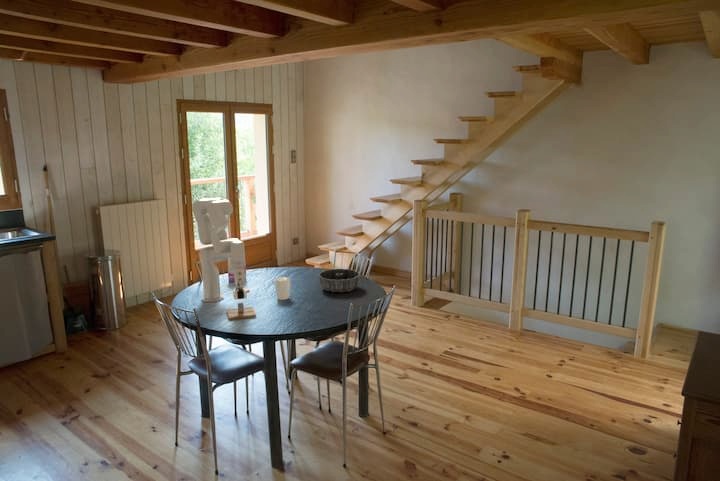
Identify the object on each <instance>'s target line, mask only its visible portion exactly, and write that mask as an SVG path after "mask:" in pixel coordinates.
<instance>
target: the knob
mask: <svg viewBox="0 0 720 481" xmlns="http://www.w3.org/2000/svg"><path fill="white" fill-rule="evenodd" d="M237 291H238V289H236V288H234V289H232V294H233V295H232V296H233V298H234V300H235V301H239V300H240V299H238V294H237ZM243 291H244V298H242V299H241V300H246V299H247V298H248V296H247V295H248V294H249V293H250V292H251V291H250V289H246V288H245V287H243Z"/></svg>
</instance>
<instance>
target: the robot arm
mask: <svg viewBox="0 0 720 481" xmlns="http://www.w3.org/2000/svg"><path fill="white" fill-rule="evenodd" d="M191 209H192V214H193V216H194V219H195V221H196V224H197V225H196V226H197V231H198V232H197V233H198V238H199V241H200V242H199V243H200V244H201V245H204V246H205V245H206V246H207V245H208V246H207V247H206V246H205V247H203V248H201V249H200V250H199V252H198V257H199V261H200V265H201V266H200V267H201V273H202V274H201V275H202V286H203V288H202V289H203V296H202V297H201V301H202V302H204V303H205V302H206V303H213V302H219V301H222V300H223V299H224V295H223V294H221V284H220V283H221V282H220V271H219V267H218V266H217V265H216V264H215V263H219V262H220V263H221V262H225V261H227V260H228V259H229V258H230V259H231V268H233V270H234V280H235V283H234V284H235V287H236V288H235V289H238V291H237V294H238V299H239V300H243V299H242V298H244V291H243V288H244V286H245V287H246V282H245V274H244V267H245V266H246V265H247V264H246V253H245V242H244V241H242V240H240V239H239V238H236V237H235V238H233V237H232V238H229V237H228V234H227V231H226V229H227V228H228V226H229V224H230V222H229V220H228V217H227V216H228V215H229V216H230V215H232V213H233V211H234V207H233V204H232V203H231V201H230V200H228V199H226V198H224V197H212V198H200V199H196V200H194V201H193V202H192V205H191ZM209 245H212V246H209ZM245 264H246V265H245ZM246 267H247V266H246Z"/></svg>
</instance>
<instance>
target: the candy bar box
mask: <svg viewBox="0 0 720 481" xmlns="http://www.w3.org/2000/svg"><path fill="white" fill-rule="evenodd" d="M226 261H227V275H228V283H229V284H235V280H234V270H233V268H231V259H230V257H229V259H228V260H226ZM245 265H247V264H246V263H245ZM244 274H245V283H247V266H245V267H244Z"/></svg>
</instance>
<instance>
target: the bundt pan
mask: <svg viewBox="0 0 720 481" xmlns="http://www.w3.org/2000/svg"><path fill="white" fill-rule="evenodd" d="M317 275H318V278H319V283H320V286H321V288H322V289H323V290H325V291H327V292H329V291H331V292H332V293H333V292H334V293H337V292H340V293H344V292H345V293H346V292H352V291H353V290H352V289H354V290H355V289H357V287H358V285H359V281H360V276H361V273H360V272H359V271H357V270H356V269H349V268H331V269H327V270H323V271H320V273H318V274H317Z"/></svg>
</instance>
